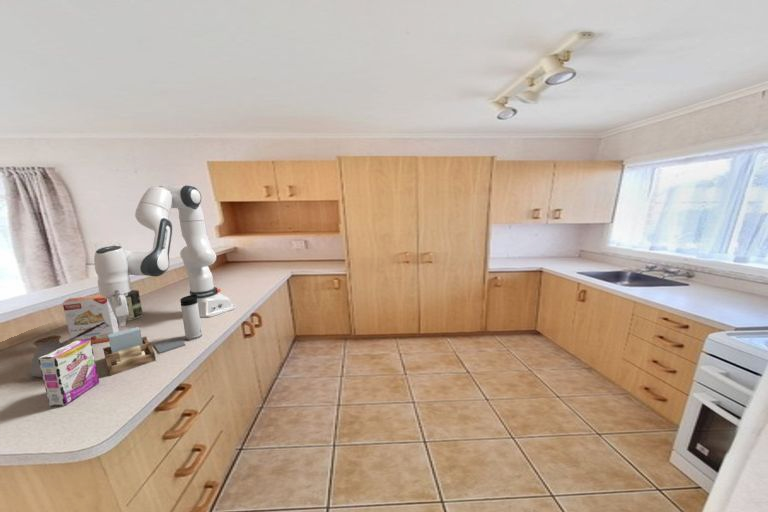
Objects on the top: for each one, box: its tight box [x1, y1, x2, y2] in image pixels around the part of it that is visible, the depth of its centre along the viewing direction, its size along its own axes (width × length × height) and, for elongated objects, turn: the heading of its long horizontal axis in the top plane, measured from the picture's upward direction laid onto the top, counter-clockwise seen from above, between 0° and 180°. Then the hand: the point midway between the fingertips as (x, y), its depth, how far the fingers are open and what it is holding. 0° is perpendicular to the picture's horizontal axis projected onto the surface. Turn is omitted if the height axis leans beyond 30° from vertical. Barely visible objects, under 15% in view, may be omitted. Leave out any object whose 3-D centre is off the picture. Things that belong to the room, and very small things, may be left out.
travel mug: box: [179, 294, 203, 341], centre depth 124 cm, size 6×7×20 cm
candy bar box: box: [38, 340, 100, 407], centre depth 86 cm, size 11×5×16 cm, turn 5°
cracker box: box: [62, 294, 120, 345], centre depth 120 cm, size 14×6×21 cm, turn 117°
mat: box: [153, 336, 186, 355], centre depth 118 cm, size 9×10×1 cm
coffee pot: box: [27, 322, 108, 379], centre depth 102 cm, size 21×12×15 cm, turn 134°
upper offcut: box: [118, 345, 142, 361], centre depth 103 cm, size 6×3×3 cm, turn 141°
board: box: [108, 326, 143, 353], centre depth 108 cm, size 9×4×11 cm, turn 140°
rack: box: [102, 336, 157, 377], centre depth 106 cm, size 13×16×5 cm
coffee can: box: [126, 289, 144, 322], centre depth 146 cm, size 10×10×14 cm
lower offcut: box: [116, 351, 145, 364], centre depth 104 cm, size 8×4×4 cm, turn 138°
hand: (121, 322), depth 106 cm, fingers open, 8 cm apart
